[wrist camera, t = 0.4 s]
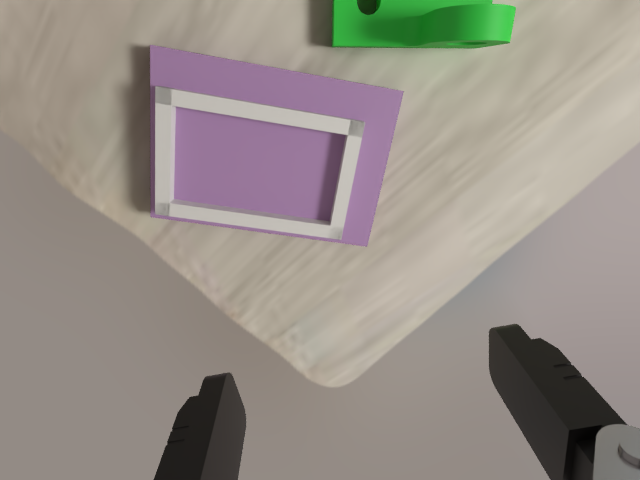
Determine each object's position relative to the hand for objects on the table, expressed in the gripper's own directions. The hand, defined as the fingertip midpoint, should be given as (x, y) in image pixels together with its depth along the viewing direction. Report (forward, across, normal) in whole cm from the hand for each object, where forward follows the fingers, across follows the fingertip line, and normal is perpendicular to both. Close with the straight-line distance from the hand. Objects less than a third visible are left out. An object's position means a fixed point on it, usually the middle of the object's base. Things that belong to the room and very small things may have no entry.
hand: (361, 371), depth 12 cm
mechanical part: (+26, -9, -12) cm, 30 cm away
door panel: (+26, +4, -2) cm, 26 cm away
